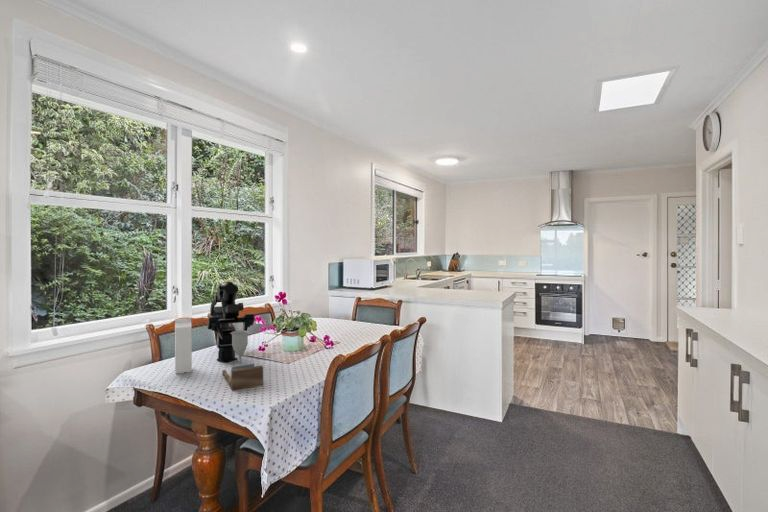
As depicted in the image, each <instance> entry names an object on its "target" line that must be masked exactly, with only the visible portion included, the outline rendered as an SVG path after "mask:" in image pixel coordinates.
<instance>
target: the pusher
mask: <svg viewBox="0 0 768 512" xmlns="http://www.w3.org/2000/svg"><path fill="white" fill-rule="evenodd" d="M248 367H255V363H248V364H247V363H246V364H242V365H239V366H238V365H232V366H231V370H234V369H241V368H248ZM231 370H230V371H231Z"/></svg>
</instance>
